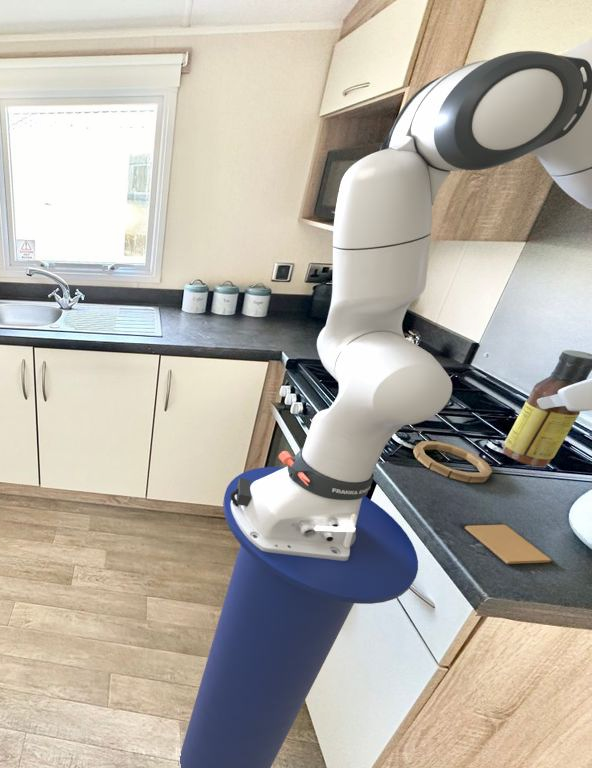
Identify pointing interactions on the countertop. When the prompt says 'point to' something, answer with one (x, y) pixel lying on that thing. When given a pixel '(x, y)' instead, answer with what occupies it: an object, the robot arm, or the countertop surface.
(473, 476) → the birch ring
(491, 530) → the cork coaster
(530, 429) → the sauce bottle
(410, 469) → the countertop surface
